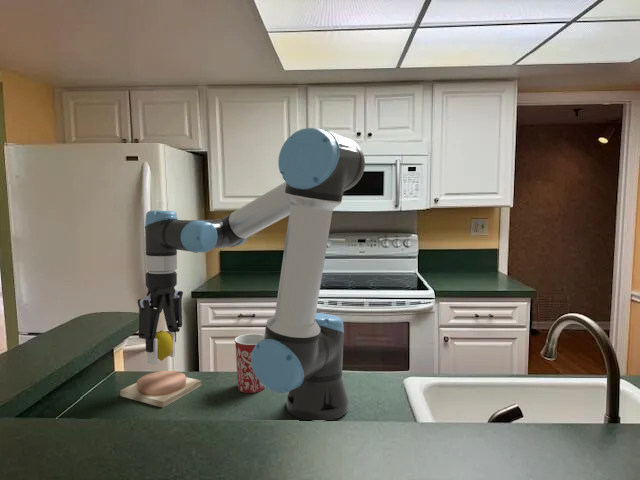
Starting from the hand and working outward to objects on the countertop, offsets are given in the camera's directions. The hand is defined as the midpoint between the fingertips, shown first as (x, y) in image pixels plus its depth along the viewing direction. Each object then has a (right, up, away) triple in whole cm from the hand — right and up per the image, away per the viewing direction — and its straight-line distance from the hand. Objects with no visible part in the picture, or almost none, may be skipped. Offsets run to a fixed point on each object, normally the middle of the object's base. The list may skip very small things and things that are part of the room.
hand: (161, 359), depth 113 cm
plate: (0, -8, +1) cm, 8 cm away
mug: (+24, -9, +6) cm, 26 cm away
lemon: (0, 0, 0) cm, 1 cm away
